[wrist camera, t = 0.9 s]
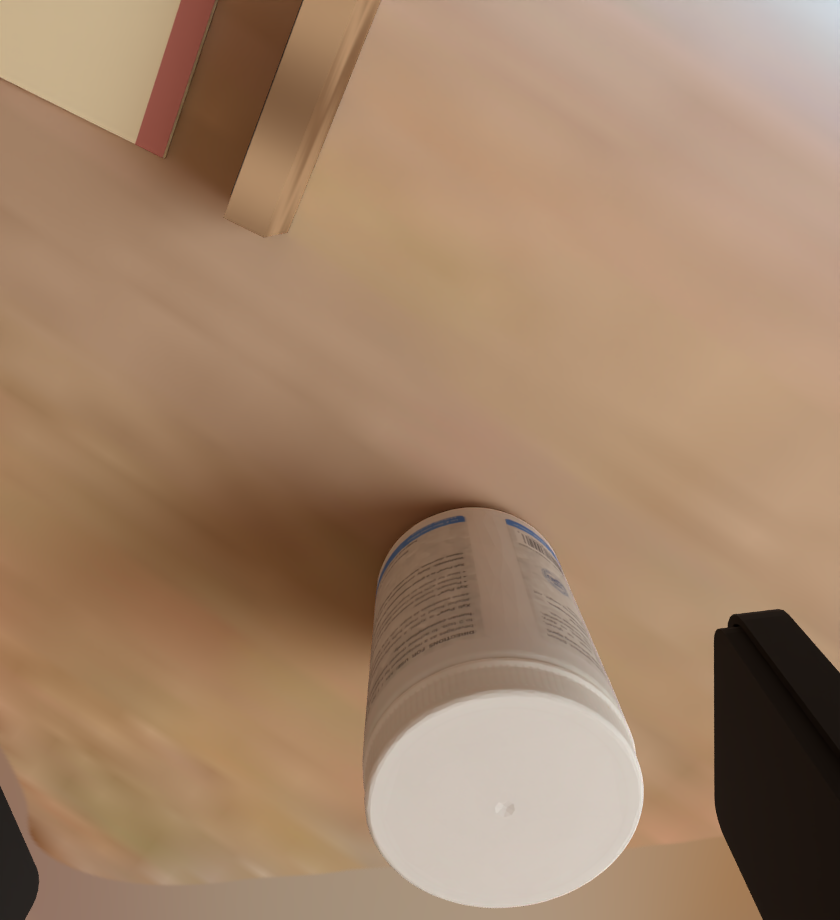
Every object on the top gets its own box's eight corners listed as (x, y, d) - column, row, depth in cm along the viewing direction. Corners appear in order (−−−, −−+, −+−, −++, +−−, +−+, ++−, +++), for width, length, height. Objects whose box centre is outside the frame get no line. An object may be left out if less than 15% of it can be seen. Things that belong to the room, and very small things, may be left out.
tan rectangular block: (343, -31, 28) (327, -78, 23) (383, -8, 28) (376, -50, 23) (250, 213, 31) (219, 215, 26) (287, 232, 31) (263, 237, 26)
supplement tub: (379, 660, 39) (355, 915, 25) (376, 498, 35) (347, 688, 22) (557, 661, 39) (633, 917, 25) (571, 500, 35) (667, 690, 22)
